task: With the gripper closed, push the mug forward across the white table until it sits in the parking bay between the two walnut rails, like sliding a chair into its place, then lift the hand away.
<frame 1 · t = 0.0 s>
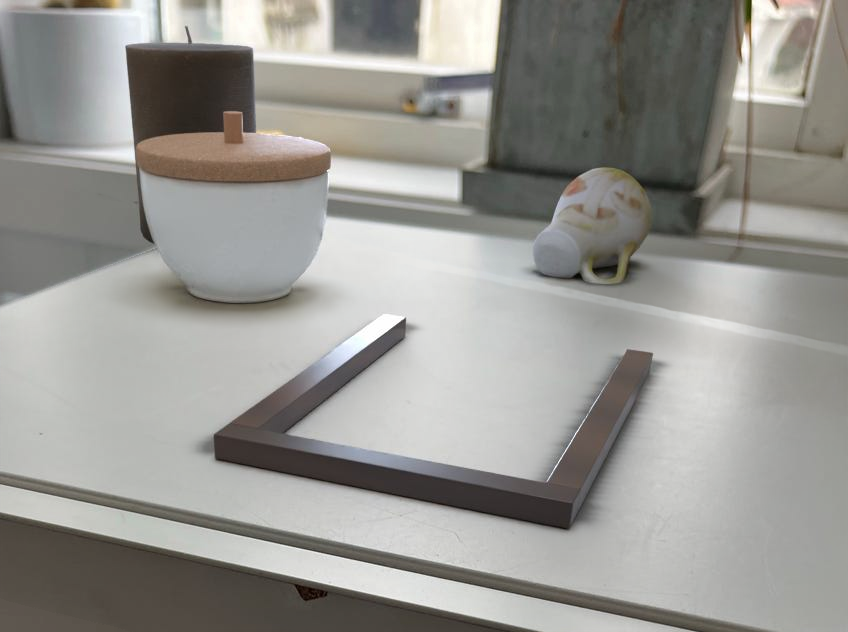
bay: (461, 406, 53), on the table
lidded bowl: (239, 292, 71), on the table
pillar candle: (201, 239, 84), on the table
mug: (582, 277, 77), on the table
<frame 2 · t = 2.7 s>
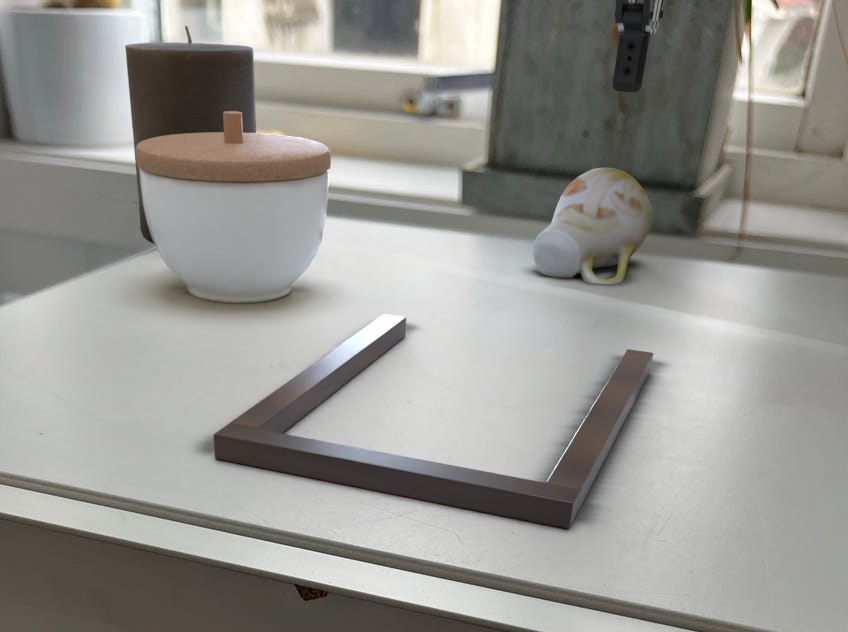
hand: (627, 90, 77), 12 cm above the table, tool pointing down, fingers closed
nothing on the table moved.
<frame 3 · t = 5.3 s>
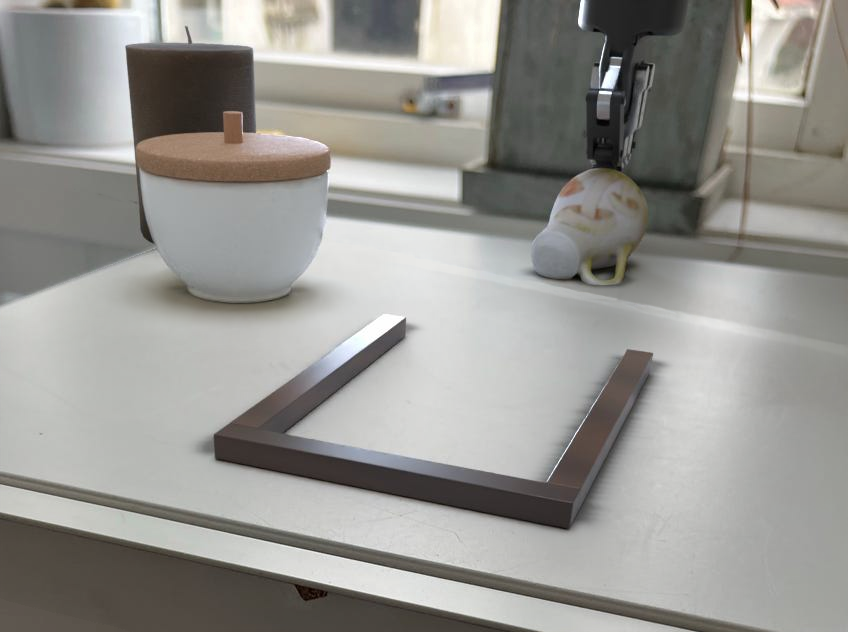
hand: (601, 217, 80), 3 cm above the table, tool pointing down, fingers closed
mug: (579, 278, 77), on the table, touching gripper
everything else where it was.
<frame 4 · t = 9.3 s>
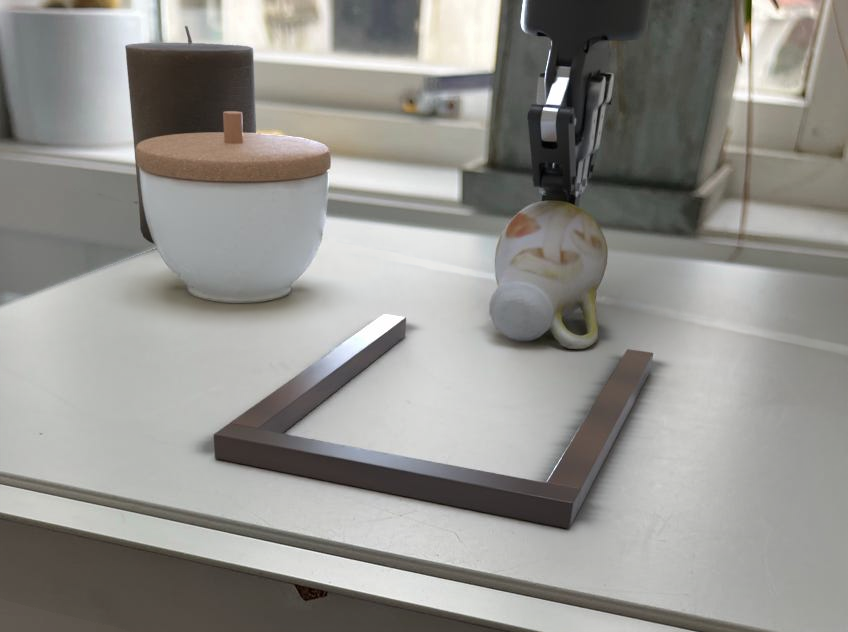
hand: (554, 253, 68), 3 cm above the table, tool pointing down, fingers closed
mug: (538, 330, 65), on the table, touching gripper
everything else where it was.
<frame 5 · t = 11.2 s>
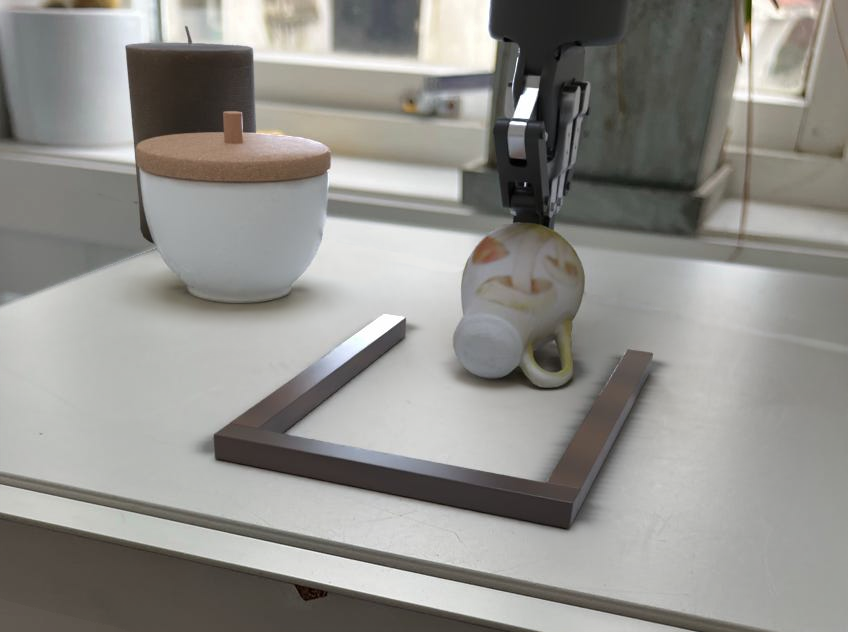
hand: (527, 278, 62), 3 cm above the table, tool pointing down, fingers closed
mug: (508, 364, 59), on the table, touching gripper
everything else where it was.
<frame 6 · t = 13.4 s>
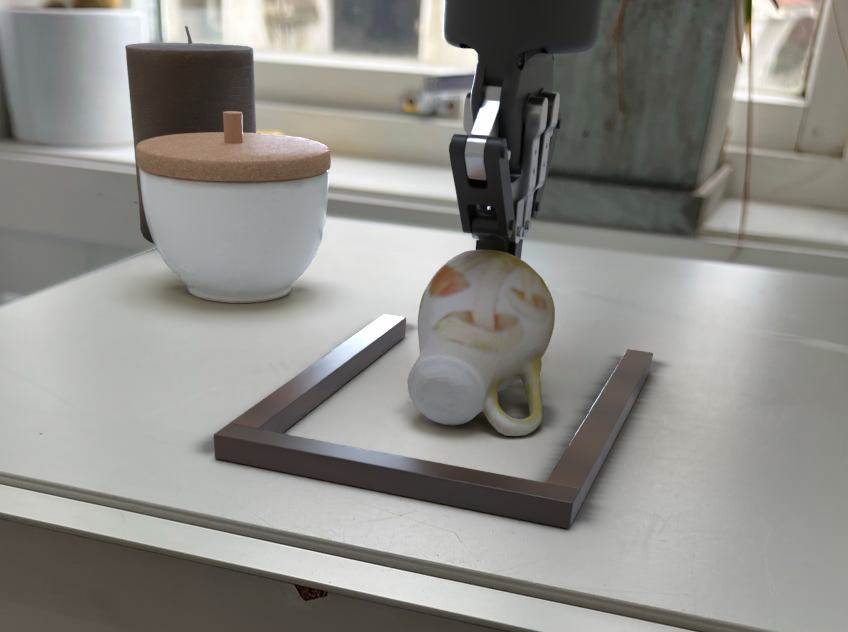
hand: (493, 308, 56), 3 cm above the table, tool pointing down, fingers closed
mug: (471, 407, 53), on the table, touching gripper
everything else where it was.
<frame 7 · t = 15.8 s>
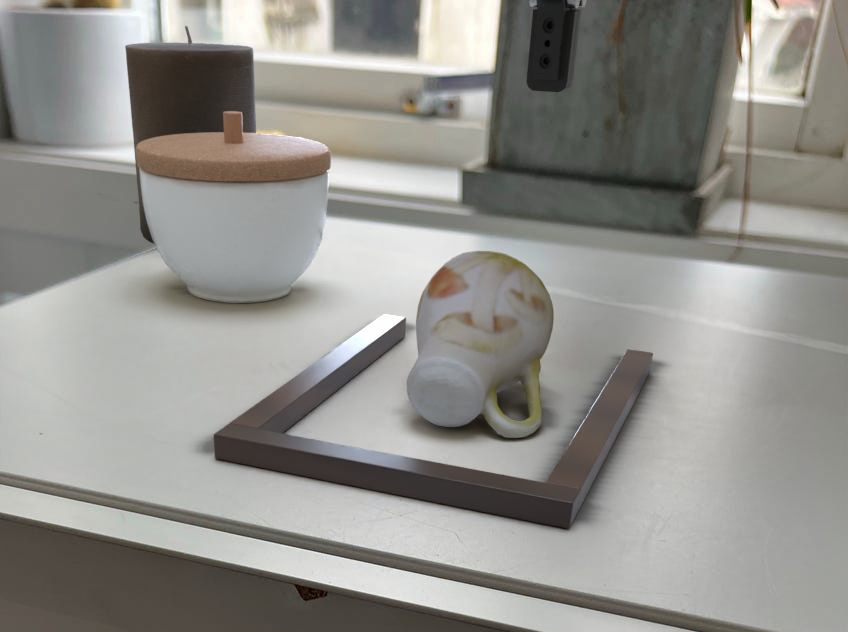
hand: (548, 89, 55), 14 cm above the table, tool pointing down, fingers closed
mug: (470, 409, 53), on the table
everything else where it was.
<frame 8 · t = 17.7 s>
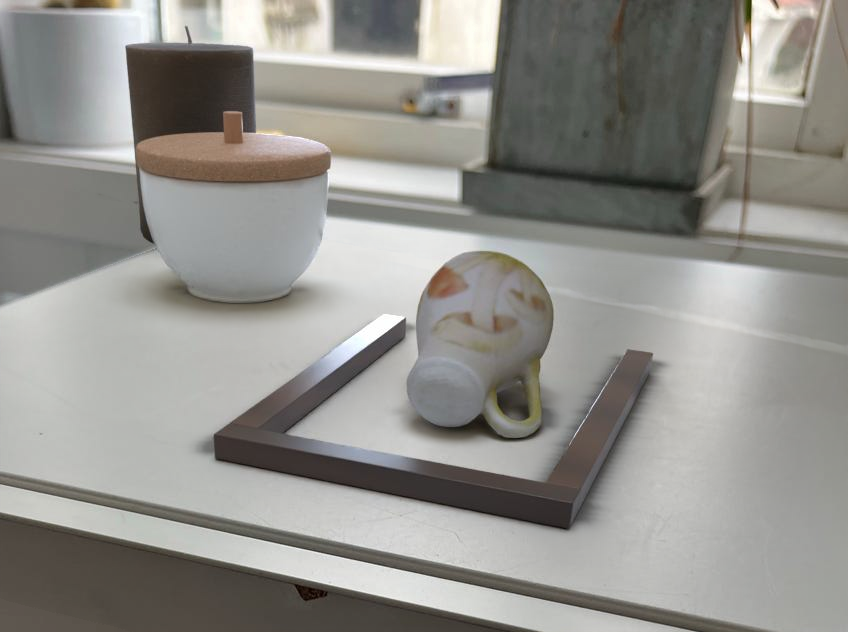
nothing on the table moved.
at the end: mug inside the target area on the bay (0.9 cm from its centre), point 0.0 cm above the bay's base; mug tilted 0°; mug moved 30.7 cm from its start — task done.
